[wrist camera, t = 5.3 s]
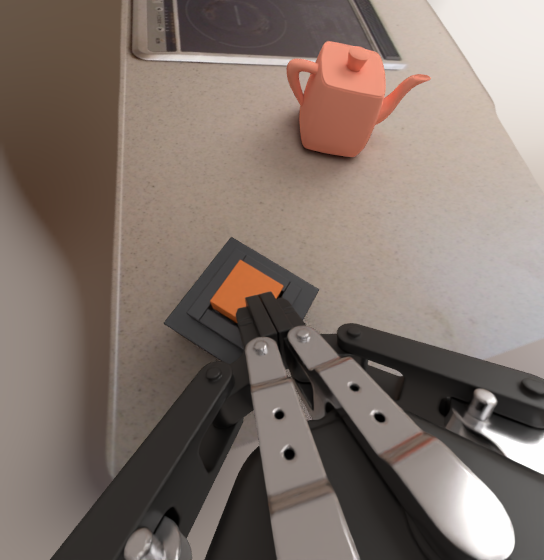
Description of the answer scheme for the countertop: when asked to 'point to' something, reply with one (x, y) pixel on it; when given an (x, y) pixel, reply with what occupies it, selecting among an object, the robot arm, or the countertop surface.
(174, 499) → the robot arm
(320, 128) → the teapot
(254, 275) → the key
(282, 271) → the push button box
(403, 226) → the countertop surface
